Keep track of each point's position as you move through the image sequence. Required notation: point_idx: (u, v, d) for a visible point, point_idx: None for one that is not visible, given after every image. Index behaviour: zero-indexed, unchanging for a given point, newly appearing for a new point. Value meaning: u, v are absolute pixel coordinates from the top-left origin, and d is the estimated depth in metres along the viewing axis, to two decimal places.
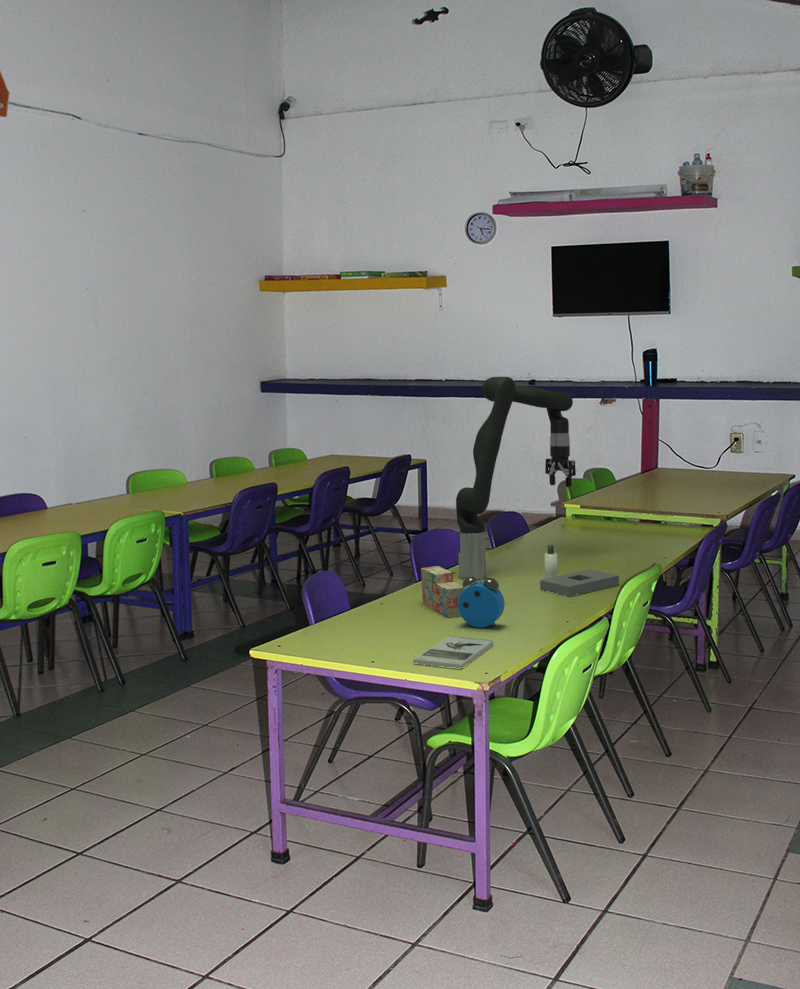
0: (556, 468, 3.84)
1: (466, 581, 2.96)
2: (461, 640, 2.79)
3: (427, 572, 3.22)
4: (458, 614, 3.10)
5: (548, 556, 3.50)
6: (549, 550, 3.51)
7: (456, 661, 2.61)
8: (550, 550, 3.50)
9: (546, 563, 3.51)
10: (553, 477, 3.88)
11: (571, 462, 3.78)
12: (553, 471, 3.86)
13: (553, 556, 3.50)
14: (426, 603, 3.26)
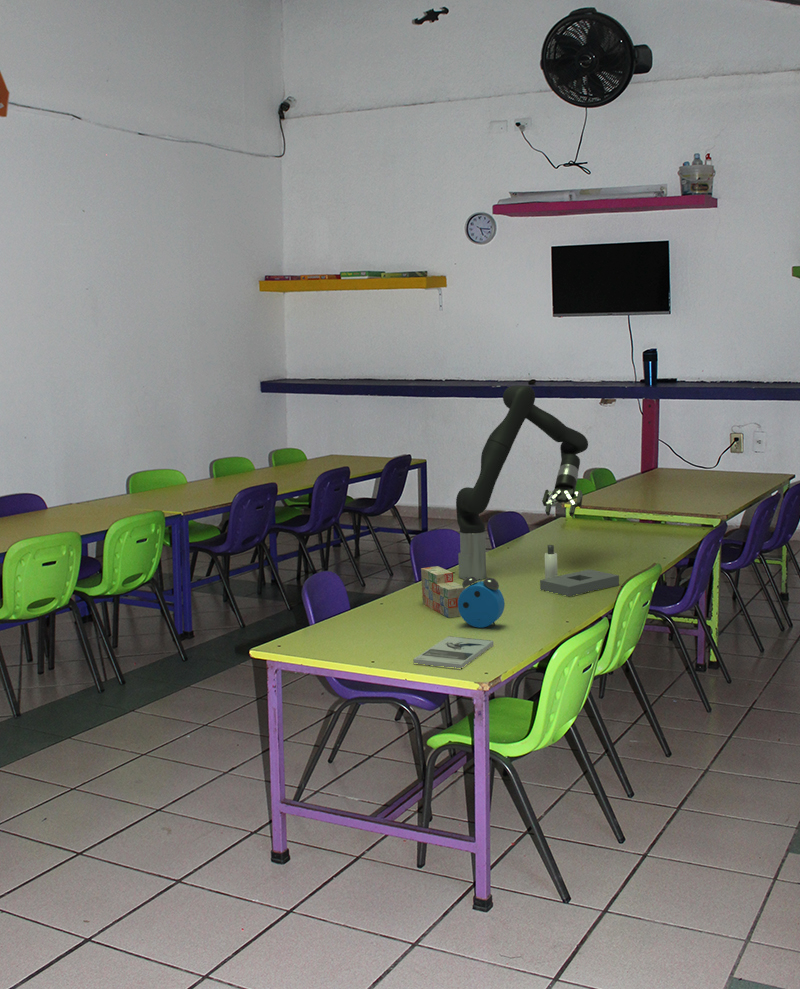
0: (559, 497, 3.64)
1: (466, 581, 2.96)
2: (461, 640, 2.79)
3: (427, 572, 3.22)
4: (458, 614, 3.10)
5: (548, 556, 3.50)
6: (549, 550, 3.51)
7: (456, 661, 2.61)
8: (550, 550, 3.50)
9: (546, 563, 3.51)
10: (550, 507, 3.64)
11: (581, 492, 3.62)
12: (553, 501, 3.64)
13: (553, 556, 3.50)
14: (426, 603, 3.25)
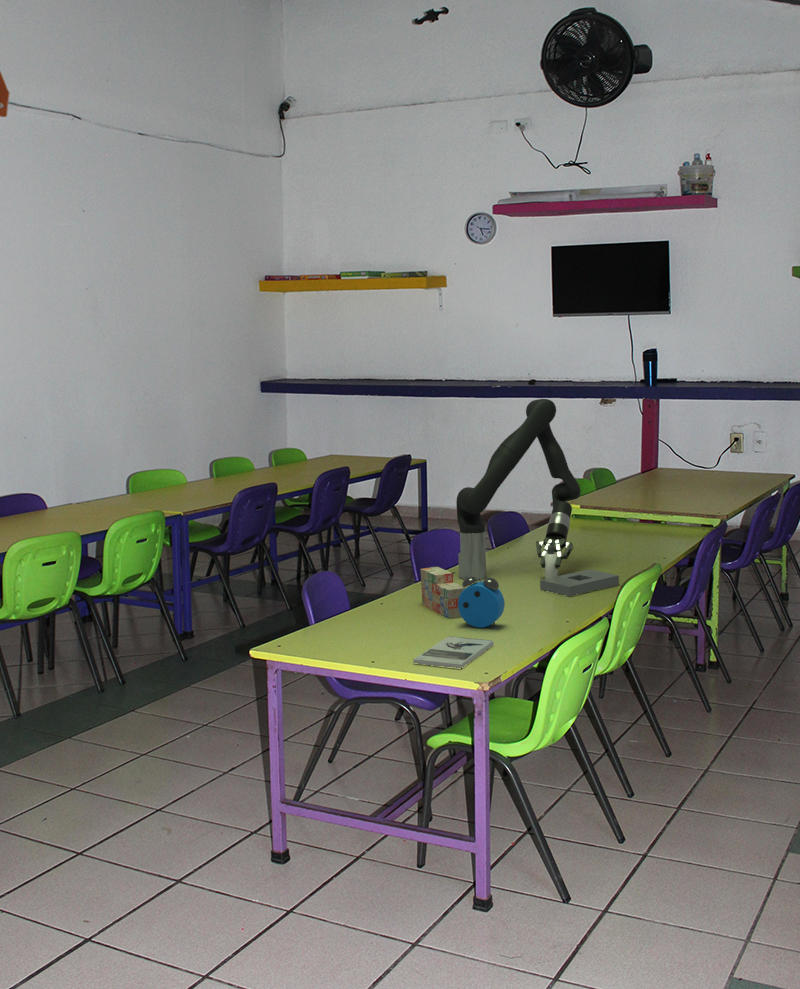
0: None
1: (466, 581, 2.96)
2: (461, 640, 2.79)
3: (427, 573, 3.21)
4: (459, 615, 3.10)
5: (548, 556, 3.50)
6: (549, 550, 3.51)
7: (456, 661, 2.61)
8: (550, 550, 3.50)
9: (546, 563, 3.51)
10: None
11: (572, 545, 3.52)
12: (547, 551, 3.54)
13: (553, 556, 3.50)
14: (426, 604, 3.25)
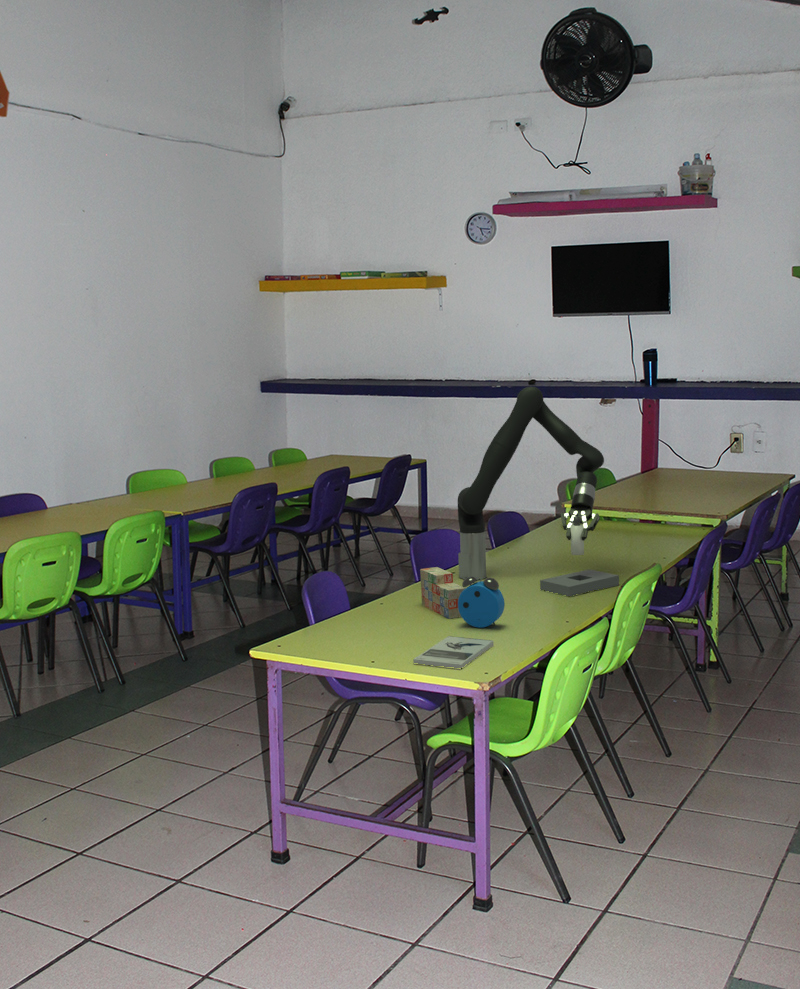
0: None
1: (466, 581, 2.96)
2: (461, 640, 2.79)
3: (427, 573, 3.21)
4: (459, 615, 3.09)
5: (574, 528, 3.39)
6: (575, 521, 3.39)
7: (456, 661, 2.61)
8: (576, 521, 3.39)
9: (572, 534, 3.39)
10: None
11: (598, 516, 3.41)
12: (573, 523, 3.43)
13: (579, 527, 3.38)
14: (425, 604, 3.24)
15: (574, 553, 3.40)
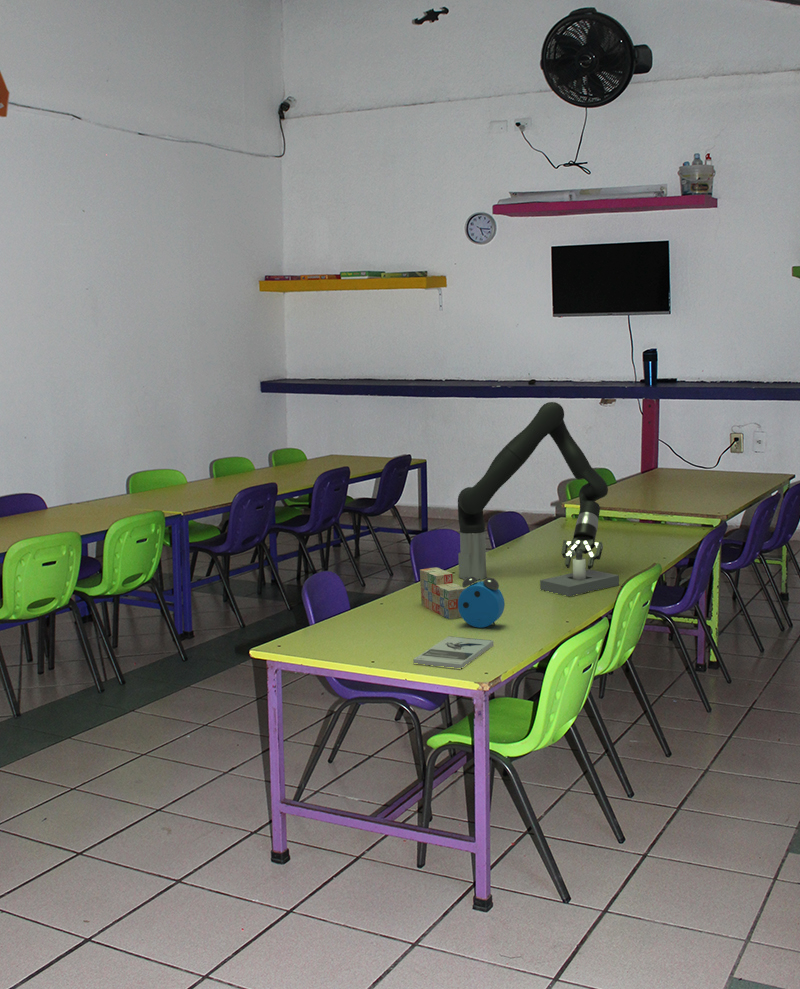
0: (579, 548, 3.43)
1: (466, 581, 2.96)
2: (461, 640, 2.79)
3: (426, 573, 3.20)
4: (459, 615, 3.09)
5: (576, 562, 3.39)
6: (577, 555, 3.39)
7: (456, 661, 2.61)
8: (579, 555, 3.39)
9: (575, 568, 3.40)
10: (570, 559, 3.42)
11: (601, 544, 3.41)
12: (573, 552, 3.43)
13: (582, 562, 3.39)
14: (425, 605, 3.24)
15: None
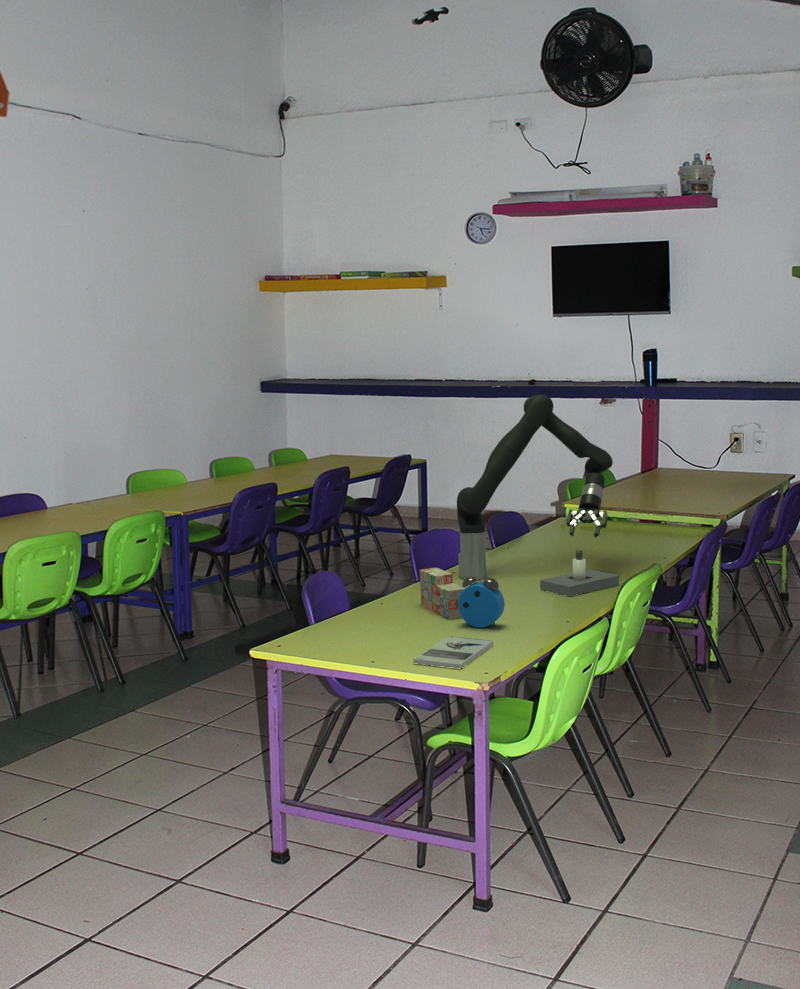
0: (583, 517, 3.53)
1: (466, 581, 2.96)
2: (461, 640, 2.79)
3: (426, 574, 3.20)
4: (459, 616, 3.08)
5: (576, 562, 3.39)
6: (577, 555, 3.39)
7: (456, 661, 2.61)
8: (578, 555, 3.39)
9: (575, 568, 3.40)
10: (574, 528, 3.53)
11: (606, 512, 3.52)
12: (577, 521, 3.54)
13: (582, 562, 3.39)
14: (425, 605, 3.23)
15: None
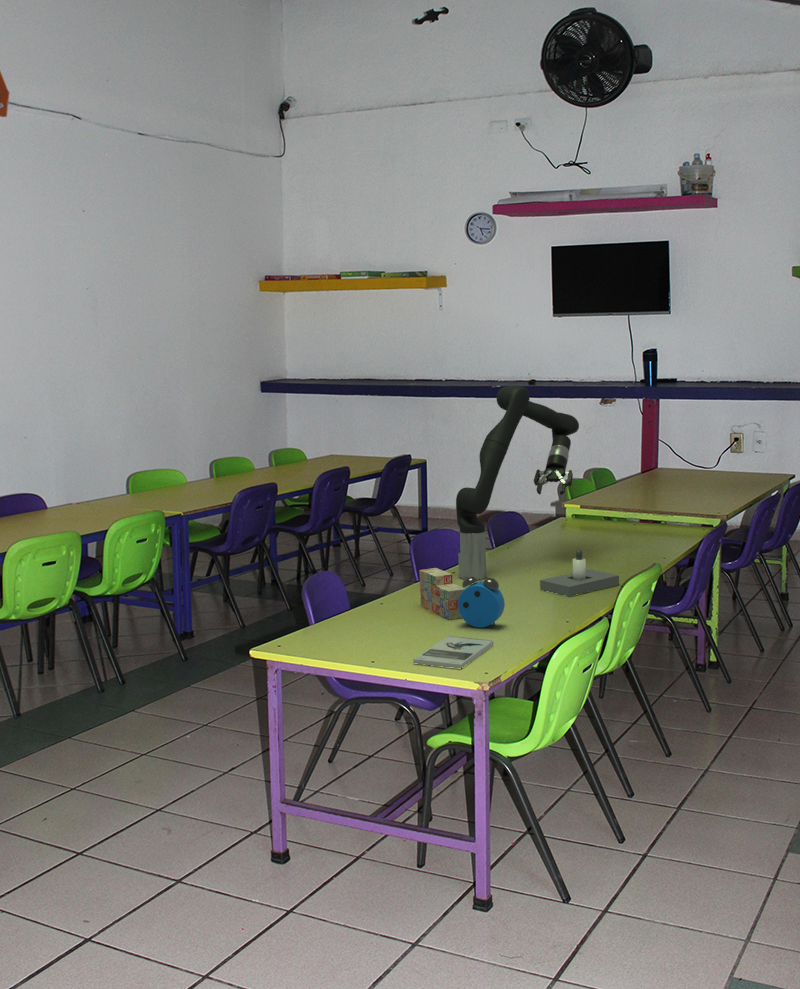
0: (550, 477, 3.73)
1: (466, 581, 2.96)
2: (461, 640, 2.79)
3: (426, 574, 3.19)
4: (459, 616, 3.08)
5: (576, 562, 3.39)
6: (577, 555, 3.39)
7: (456, 661, 2.61)
8: (578, 555, 3.39)
9: (575, 568, 3.40)
10: (541, 486, 3.73)
11: (571, 472, 3.72)
12: (544, 480, 3.74)
13: (582, 562, 3.39)
14: (425, 605, 3.23)
15: None
